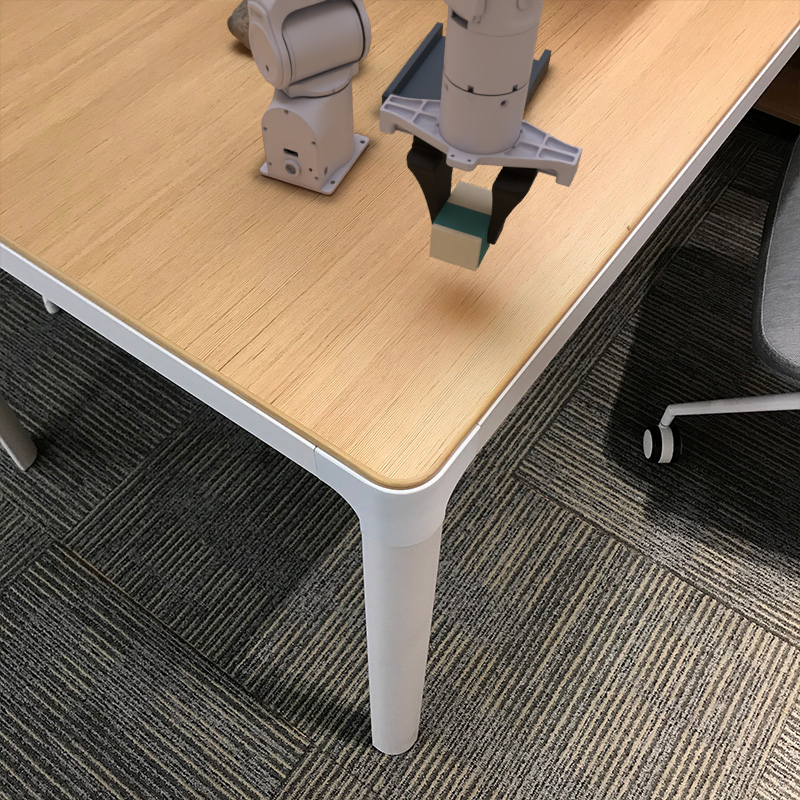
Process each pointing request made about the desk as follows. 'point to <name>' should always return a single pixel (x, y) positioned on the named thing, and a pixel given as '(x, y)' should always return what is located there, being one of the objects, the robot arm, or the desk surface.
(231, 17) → the stone
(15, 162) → the desk surface
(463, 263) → the eraser
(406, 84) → the tray
